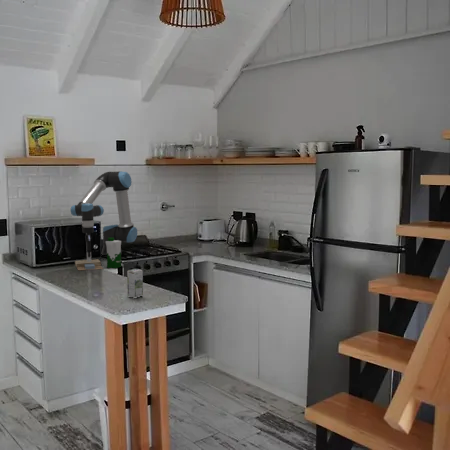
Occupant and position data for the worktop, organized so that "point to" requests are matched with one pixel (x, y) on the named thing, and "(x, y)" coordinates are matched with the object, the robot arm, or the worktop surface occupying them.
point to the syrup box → (135, 282)
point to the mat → (89, 269)
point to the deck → (83, 262)
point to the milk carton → (113, 253)
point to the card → (89, 266)
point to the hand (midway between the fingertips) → (89, 261)
